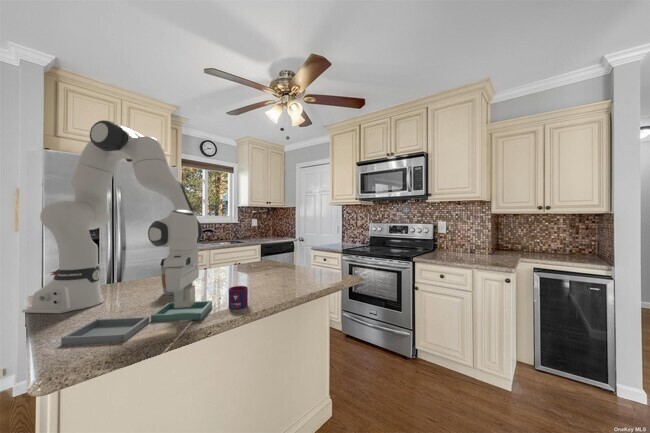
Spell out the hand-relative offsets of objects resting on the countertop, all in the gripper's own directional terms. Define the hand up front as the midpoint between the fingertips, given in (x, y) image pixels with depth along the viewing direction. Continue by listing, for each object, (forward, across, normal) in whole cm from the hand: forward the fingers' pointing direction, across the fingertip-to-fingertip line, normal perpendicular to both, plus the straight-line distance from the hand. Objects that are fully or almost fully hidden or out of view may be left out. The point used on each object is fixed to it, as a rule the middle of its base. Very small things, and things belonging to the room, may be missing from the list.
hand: (184, 297), depth 94 cm
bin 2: (+6, 0, 0) cm, 6 cm away
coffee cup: (+6, -28, -15) cm, 32 cm away
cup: (+6, -8, +17) cm, 19 cm away
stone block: (+2, 0, 0) cm, 3 cm away
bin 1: (+6, +14, -15) cm, 22 cm away
